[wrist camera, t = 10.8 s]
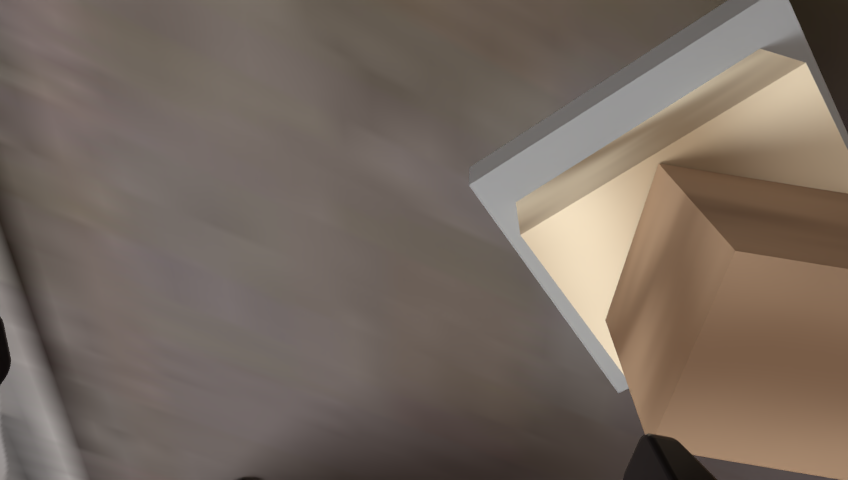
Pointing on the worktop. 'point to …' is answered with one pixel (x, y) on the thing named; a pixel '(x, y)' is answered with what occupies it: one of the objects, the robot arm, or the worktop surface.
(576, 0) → the worktop surface
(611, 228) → the birch top block
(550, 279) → the grey base block
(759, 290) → the walnut cube
